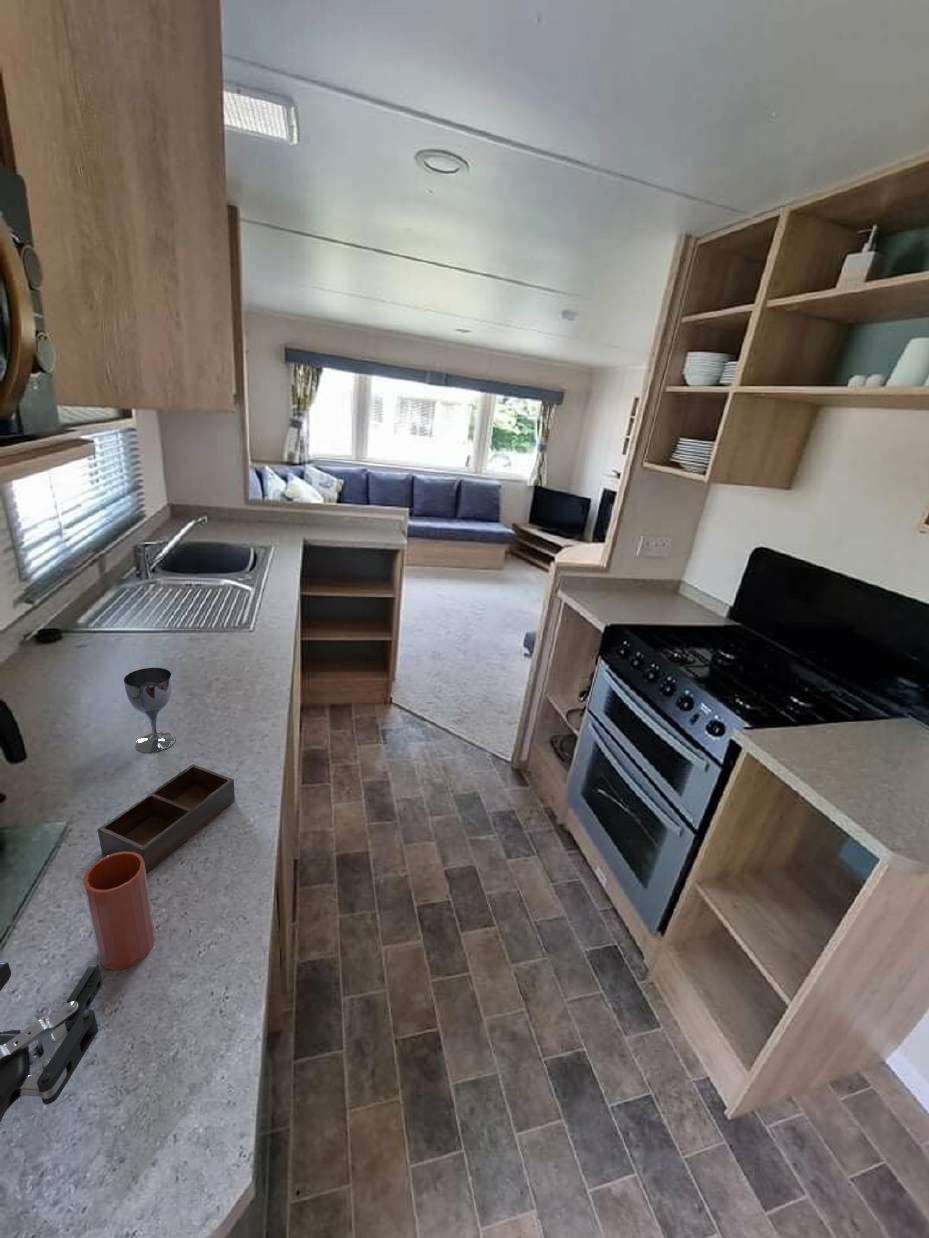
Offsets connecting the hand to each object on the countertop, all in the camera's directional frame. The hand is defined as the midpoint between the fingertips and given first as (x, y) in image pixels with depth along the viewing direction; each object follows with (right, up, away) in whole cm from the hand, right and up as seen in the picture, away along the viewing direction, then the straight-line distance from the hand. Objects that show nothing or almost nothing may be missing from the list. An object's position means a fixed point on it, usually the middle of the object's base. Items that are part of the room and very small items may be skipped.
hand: (51, 968), depth 51 cm
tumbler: (-2, -7, +15) cm, 17 cm away
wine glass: (-22, +10, +54) cm, 59 cm away
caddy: (-7, +1, +34) cm, 35 cm away
